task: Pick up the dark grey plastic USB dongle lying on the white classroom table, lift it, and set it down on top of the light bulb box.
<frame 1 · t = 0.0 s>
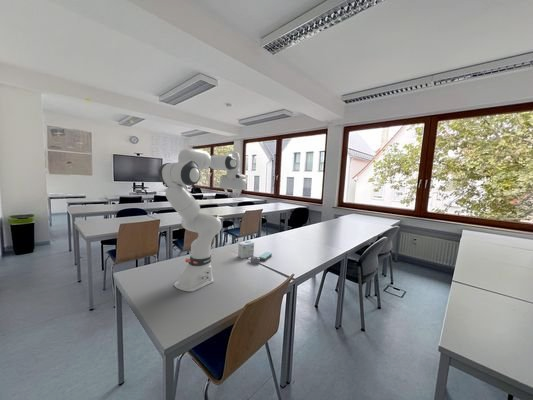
hand: (232, 195, 155), 48 cm above the table, fingers open, 8 cm apart
light bulb box: (245, 256, 172), on the table
eraser: (265, 258, 170), on the table
dongle: (253, 262, 160), on the table
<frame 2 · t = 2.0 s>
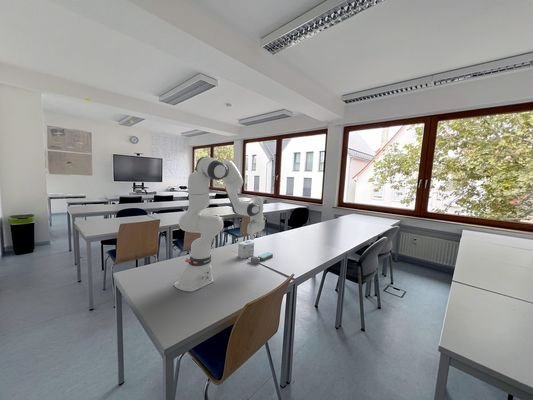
hand: (255, 238, 158), 18 cm above the table, fingers open, 8 cm apart
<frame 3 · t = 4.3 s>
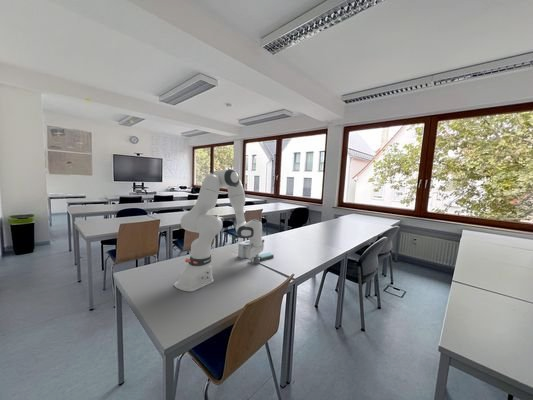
hand: (254, 260, 160), 2 cm above the table, fingers closed on dongle, 3 cm apart
dongle: (253, 262, 160), on the table, touching gripper
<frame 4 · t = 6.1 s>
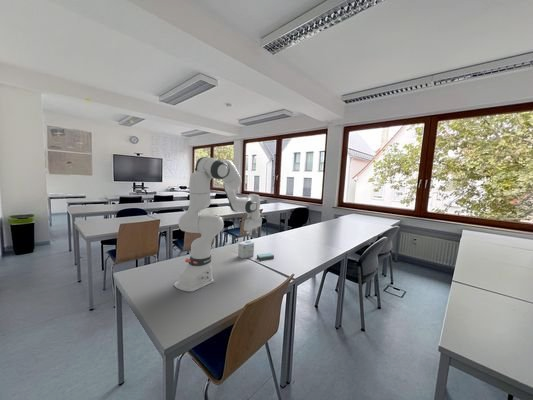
hand: (252, 234, 163), 20 cm above the table, fingers closed on dongle, 3 cm apart
dongle: (251, 236, 164), point 18 cm above the table, touching gripper
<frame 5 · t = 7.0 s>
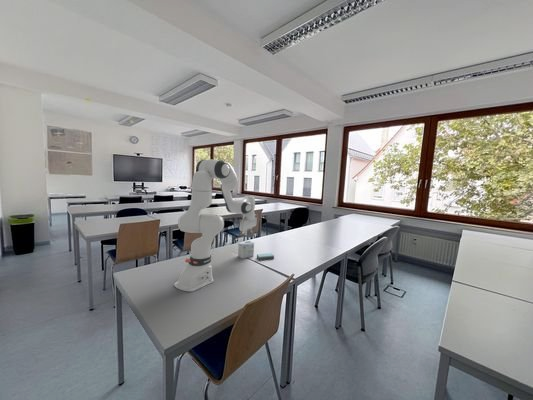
hand: (247, 234, 170), 18 cm above the table, fingers closed on dongle, 3 cm apart
dongle: (246, 235, 171), point 16 cm above the table, touching gripper
when the fingers open (14 cm above the table, at t = 7.9 s): dongle drops 1 cm, resting on light bulb box.
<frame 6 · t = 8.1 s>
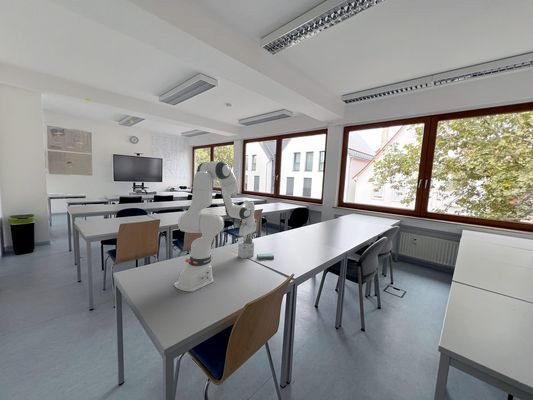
hand: (247, 239, 170), 14 cm above the table, fingers open, 5 cm apart
light bulb box: (245, 256, 172), on the table, touching dongle
dongle: (246, 242, 171), point 11 cm above the table, touching light bulb box
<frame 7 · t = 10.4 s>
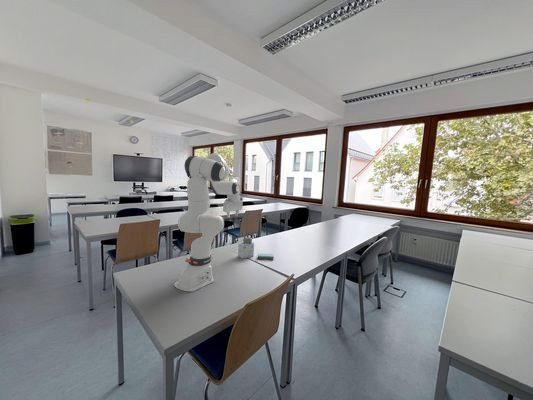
hand: (232, 216, 166), 31 cm above the table, fingers open, 8 cm apart
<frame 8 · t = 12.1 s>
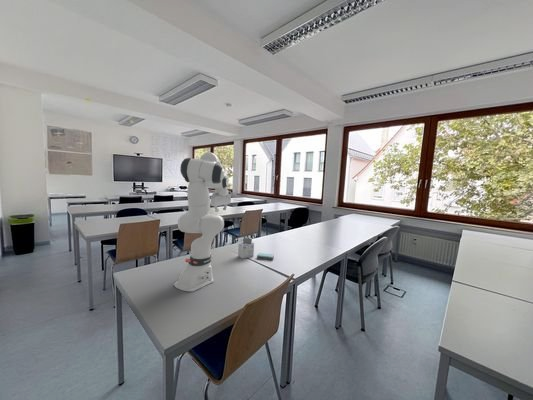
hand: (220, 211, 164), 35 cm above the table, fingers open, 8 cm apart
at the end: dongle inside the target area on the light bulb box (0.5 cm from its centre), point 11.0 cm above the light bulb box's base; the gripper is holding nothing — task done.
